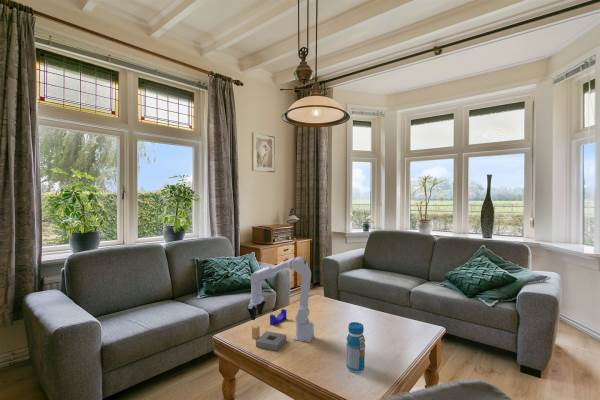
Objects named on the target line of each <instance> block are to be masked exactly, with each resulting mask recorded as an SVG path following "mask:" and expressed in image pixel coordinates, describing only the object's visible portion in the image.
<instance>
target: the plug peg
mask: <svg viewBox="0 0 600 400" xmlns="http://www.w3.org/2000/svg"><path fill="white" fill-rule="evenodd" d="M260 337H261V335H260V325H256V324H254V325H253V326H252V328H251V339H255V340H257V339H259V338H260Z"/></svg>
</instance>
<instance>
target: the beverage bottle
mask: <svg viewBox="0 0 600 400" xmlns="http://www.w3.org/2000/svg"><path fill="white" fill-rule="evenodd" d="M347 328H348V335H347V337H346V345H345V346H346V369H347V370H348V371H349V372H352V373H356V374H357V373H358V374H359V373H363V372H364V371H365V362H366V361H365V354H366V351H365V350H366V344H365V342H366V339H365V335H364V324H363V323H361V322H357V321H353V322H349V324H348V327H347Z"/></svg>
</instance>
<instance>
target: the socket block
mask: <svg viewBox="0 0 600 400" xmlns="http://www.w3.org/2000/svg"><path fill="white" fill-rule="evenodd" d="M286 341H287V334H285V333H278V332H274V331H267V330H265V332H264V333H263V334H262V335H260V337H259V338H258V339H255V347H257V348H261V349H266V350H270V351H276V352H277V351H279V349H280V348H281V347H282V346H283V345H284V343H286Z"/></svg>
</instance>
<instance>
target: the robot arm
mask: <svg viewBox="0 0 600 400" xmlns="http://www.w3.org/2000/svg"><path fill="white" fill-rule="evenodd" d="M284 269H288V270H293V271H294V272H296V273H297V274H299V275H300V276H301V286H300V295H299V296H300V297H299V305H298V309H297V313H296V315H295V335H294V337H293V338H292V339H293V340H295V341H301V342H307V343H310V342H311V341H312V339H314V337H315V333H314V332H315V331H314V330H315V329H314V328H315V327H314V323H313V322H311V321H310V319H309V318H308V317H309V315H310V309H309V298H310V290H311V279H312V272H311V269H310V267H309V265H308V262H307V260H306V259H305V258H304V257H303V256H300V255H299V256H296V257H292V258H289V259H285V260H284V261H282V262H280V263H278V264H276V265H274V266H271V265H265V266H264V267H263V268H261V269H257V270H255V271H254V272H253V273H251V274H250V277H249V280H250V287H251V288H250V289H251V291H250V293H251V295H250V296H251V299H249V304H247V305H248V306H247V307H246V309H247V312H248V313H249V316H250V319H251V320H252V321H255V320H256V317H257V316H256V315H259V316H261V315H262V314H263V312H264V307H265V306H266V305H265V304H266V301H265V296H263V295H262V294H263V293H262V292H263V291H262V288H263V287H262V285H263V284H262V280H263V281H264V280H266V279H268V278H271V277H273V276H274V274H275V273H277V272H279V271H282V270H284Z"/></svg>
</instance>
